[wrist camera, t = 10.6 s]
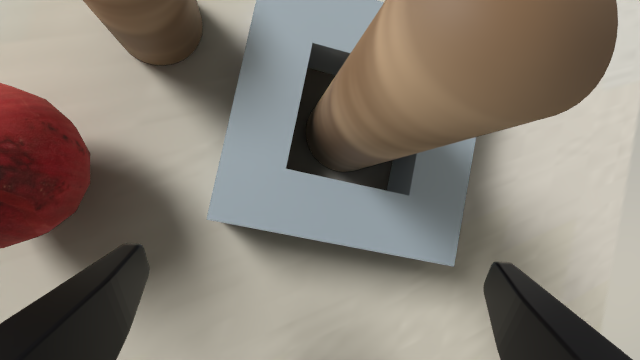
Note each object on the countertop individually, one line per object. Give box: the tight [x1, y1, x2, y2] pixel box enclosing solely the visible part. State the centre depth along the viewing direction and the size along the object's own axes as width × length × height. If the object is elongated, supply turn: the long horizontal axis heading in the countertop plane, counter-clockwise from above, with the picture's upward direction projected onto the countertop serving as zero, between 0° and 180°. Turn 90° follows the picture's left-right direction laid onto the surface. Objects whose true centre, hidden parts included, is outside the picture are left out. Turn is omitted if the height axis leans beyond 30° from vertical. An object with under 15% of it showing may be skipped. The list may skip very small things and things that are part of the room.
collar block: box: [207, 0, 476, 267], centre depth 18 cm, size 11×11×3 cm
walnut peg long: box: [306, 0, 618, 172], centre depth 13 cm, size 4×4×13 cm
